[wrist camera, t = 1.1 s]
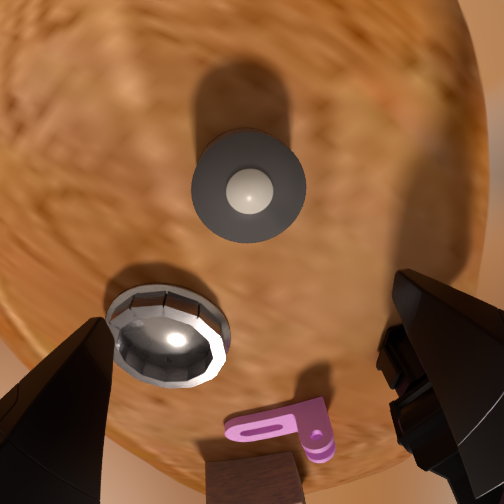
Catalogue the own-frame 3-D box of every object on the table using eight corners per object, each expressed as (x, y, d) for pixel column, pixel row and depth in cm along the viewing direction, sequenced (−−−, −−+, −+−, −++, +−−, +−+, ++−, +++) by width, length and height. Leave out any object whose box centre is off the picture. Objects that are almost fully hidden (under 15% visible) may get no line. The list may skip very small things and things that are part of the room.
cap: (288, 124, 17) (305, 130, 14) (291, 212, 20) (307, 238, 16) (192, 133, 17) (183, 141, 13) (204, 221, 20) (200, 250, 16)
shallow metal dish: (221, 275, 22) (221, 292, 20) (237, 370, 27) (238, 387, 25) (88, 288, 21) (79, 304, 20) (130, 375, 27) (127, 391, 25)
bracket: (322, 395, 31) (336, 444, 25) (326, 414, 34) (338, 458, 28) (218, 419, 32) (219, 467, 26) (232, 436, 35) (235, 479, 29)
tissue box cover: (301, 483, 52) (308, 518, 43) (240, 492, 52) (244, 527, 43) (291, 449, 39) (301, 502, 30) (205, 461, 39) (206, 512, 31)
